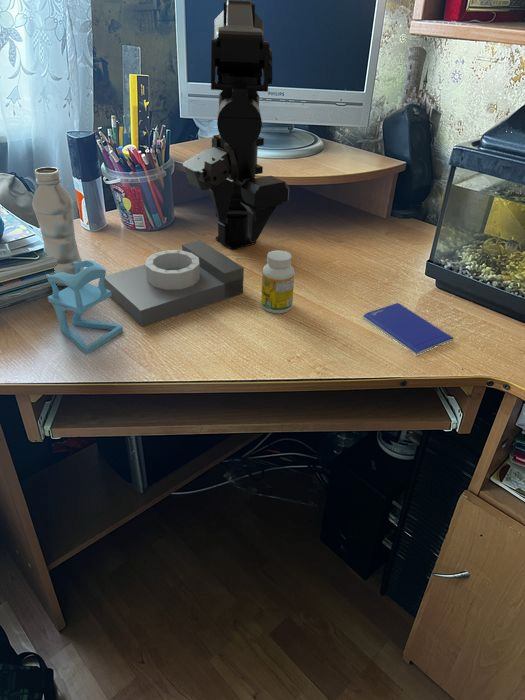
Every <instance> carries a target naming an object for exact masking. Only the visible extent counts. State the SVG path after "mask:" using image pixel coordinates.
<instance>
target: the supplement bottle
mask: <svg viewBox="0 0 525 700" xmlns="http://www.w3.org/2000/svg"><path fill="white" fill-rule="evenodd" d="M292 260H293V259H292V254H291V253H290V252H288V251H285V250H277V249H276V250H272V251H269V252H268V253H267V255H266V262H267V263H266V264H265V265H264V266H263V268H262V275H261V277H262V278H261V280H262V281H261V299H260V300H261V301H260V303H261V307H262V309H263V310H265V311H266V312H268V313H271V314H283V313H286V312H287V313H288V312H289V311H290V310H291V309H292V307H293V302H294V301H293V299H294V285H295V275H296V274H295V272H296V271H295V269H294V267H293V265H292Z"/></svg>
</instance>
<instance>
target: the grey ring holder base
mask: <svg viewBox="0 0 525 700" xmlns="http://www.w3.org/2000/svg"><path fill="white" fill-rule="evenodd" d="M244 270H245V268H244V266H242V265H240V264H239V263H237V262H236V261H234V260H232V258H229V257H227V255H224V254H223V253H221V252H220V251H218V250H217V249H215V248H214V247H212V246H210V245H209V244H208V243H205V241H203V240H200V239H199V240H195V241H191V242H187V243H183V244H182V245H181V249H180V250H179V249H172V250H171V249H170V250H161V251H159V252H155V253H152V254H151V255H150V256H148V257H147V258H146V259H145V264H143V265H139V266H136V267H135V266H134V267H131V268H128V269H124V270H120V271H117V272H113V273H109V274H105V279H104V287H105V289H107V290H110V291H111V293H112V296H111V297H110V299H112V300H113V301H114V302H115V303H116V304H117V305H118V306H119V307H120V308H121V309H123V310H124V311H125V312H126V313H127V314H128V315H129V316H130V317H131V318H132V319H133V320H135V322H137V323H138V325H140V326H141V327H142V328H143V327H146V326H149V325H152V324H154V323H157V322H160V321H163V320H167V319H169V318H173V317H175V316H176V317H177V316H179V315H182V314H184V313H188V312H190V311H193V310H196V309H200V308H202V307H206V306H209V305H211V304H215V303H217V302H220V301H222V300H223V301H224V300H226V299H229V298H231V297H232V298H233V297H235V296H238V295H241V294H244V277H245V276H244V273H245V272H244Z"/></svg>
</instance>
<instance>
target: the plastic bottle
mask: <svg viewBox="0 0 525 700" xmlns="http://www.w3.org/2000/svg"><path fill="white" fill-rule="evenodd" d="M34 174H35V182H36V184H38V186H37V188H36V190H35V192H34V194H33V196H32V204H31V205H32V209H33V211H34V214H35V217H36V219H37V223H38V226H39V228H40V234H41V236H42V240H43V249H45V250H44V252H45V251H46V253H47V254H48V255H50V256H53V257H54V258H55V259H56V260H57V263H58V265H57V266H56V267H55V268H54V270H55V271H54V272H55V273H60V272H64V273H67V274H71V275H75V274H76V271H75V267H74V264H73V262H82V261H83V260H82V257H81V255H80V251H79V249H78V244H77V241H76V235H75V234H76V233H75V225H74V201H73V199H72V197H71V195H70V193H69V192H68V191H67V190H66V188H64V187H63V185H62V184H61V182H62V178H61V176H60V170H59V169H58V167H54V166H43V167H39V168H36V169H35V170H34ZM83 269H85V267H82V268H80V272H81V271H82V270H83ZM57 282H58V281H57ZM57 286H58V287H67V286H66V285H65V284H63V283H61V282H58V284H57Z"/></svg>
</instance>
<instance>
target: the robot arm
mask: <svg viewBox="0 0 525 700" xmlns="http://www.w3.org/2000/svg"><path fill="white" fill-rule="evenodd" d="M210 44H211V45H210V47H211V48H210V49H211V50H210V52H211V53H210V56H211V60H210V65H211V66H210V67H211V68H210V70H211V71H210V89H211V91H220V92H219V93H218V113H217V119H216V123H217V124H216V126H217V131H218V134H213V137H212V139H211V147H210V148H208V149H205V150H203V151H201V152H199V153H197V154H195V155H194V156H192V157H190V158H188V159H187V160H185V161H183V162H182V167H183V169H184V171H185V174H186V178H187V180H188V182H189V184H190V185H191V186H194V187H196V188H198V190H200V191H207V190H208V193H209V195H210V198H211V201H212V204H213V207H214V211H215V217H216V218H217V220H218V222H217V236H215V240H216V241H218V242H219V243H221V244H222V245H224V246H226V247H227V248H229V249H231V250H235V249H239V248H243V247H247V246H250V245H254V244H256V243H257V240H259V238H260V235H261V233H262V232H263V230H264V228H265V226H266V225H267V223H268V221H269V220H270V218H271V216H272V215H273V213H274V211H275V210H276V208H277V207H278V206H281V205H283V203H286V202H289V197H290V186H289V184H288V183H286V181H284V180H283V179H280V178H278V177H275V176H273V175H267V176H266V175H265V176H262V177H256V176H257V175H260V174H262V175H263V173H264V172H263V171H264V170H263V169H264V168H263V166H262V165H260V164H258V151H259V150H258V147H262V146H264V143H265V141H264V140H265V138H264V137H262V136H260V134H261V132H262V126H263V120H262V115H261V111H260V109H261V108H260V95H259V93H258V92H264V93H265V92H267V93H268V92H269V85H272V84H273V50H272V49H271V47H270V42H269V41H268V40H264V21H263V19H261V17H260V16H259V15H258V14H257V12H256V3H255V2H252V1H251V0H226V1H225V0H224V1H223V10H222V11H221V12H220V13H219V14H218V15H217V16H216V17H215V18H214V20H213V38H211V43H210ZM216 77H217V81H216ZM262 77H263V78H262Z"/></svg>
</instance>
